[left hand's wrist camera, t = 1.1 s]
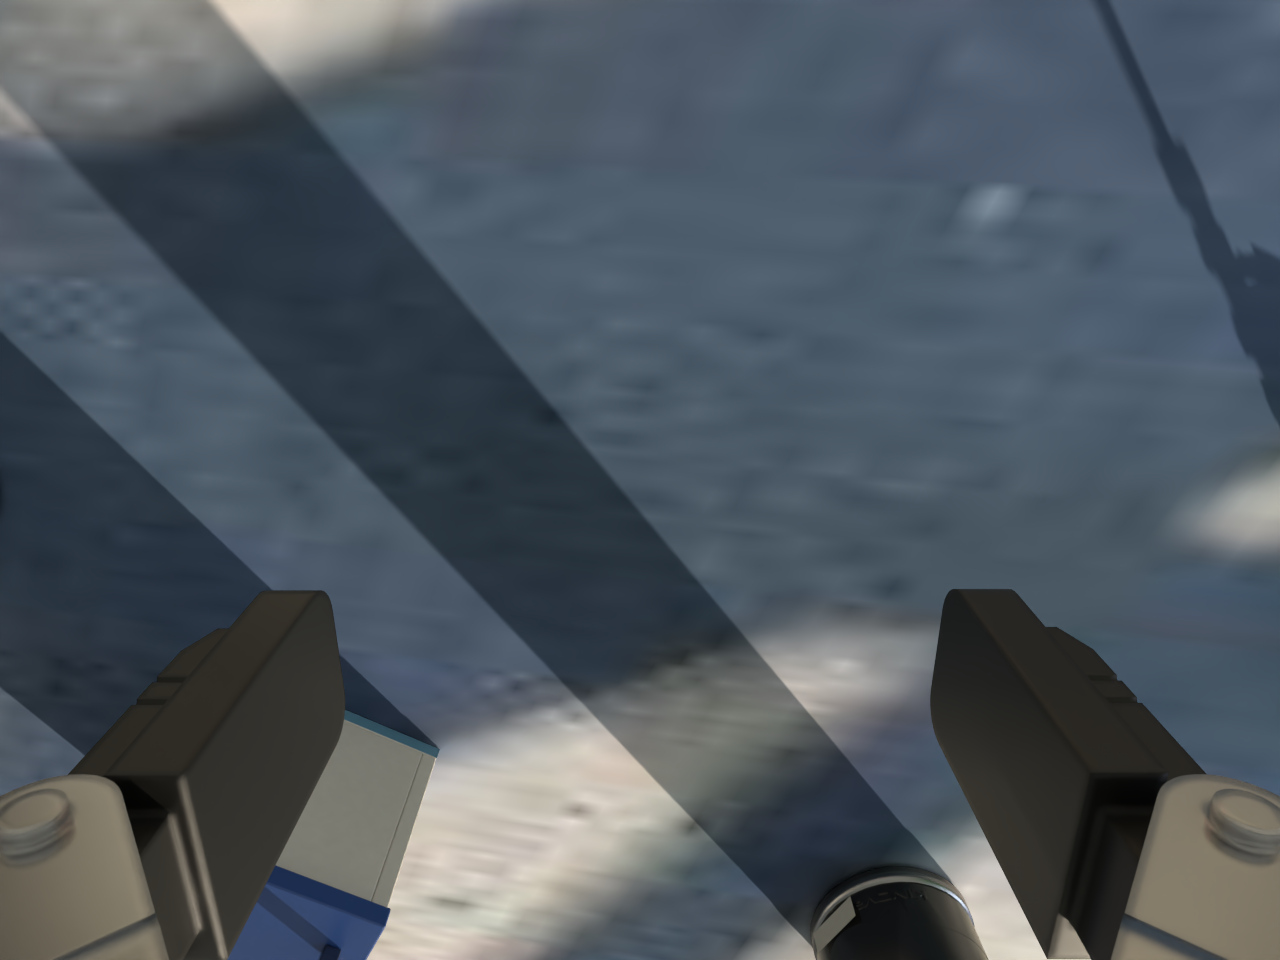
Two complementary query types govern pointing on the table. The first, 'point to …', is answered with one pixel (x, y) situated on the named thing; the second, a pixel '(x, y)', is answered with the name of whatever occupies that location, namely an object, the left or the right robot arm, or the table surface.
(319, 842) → the chest
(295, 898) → the lid
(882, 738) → the table surface
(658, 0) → the table surface
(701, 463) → the table surface
